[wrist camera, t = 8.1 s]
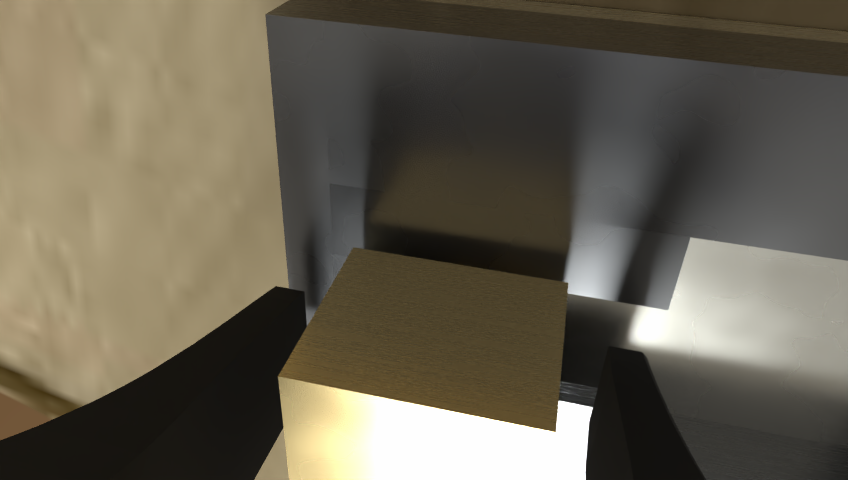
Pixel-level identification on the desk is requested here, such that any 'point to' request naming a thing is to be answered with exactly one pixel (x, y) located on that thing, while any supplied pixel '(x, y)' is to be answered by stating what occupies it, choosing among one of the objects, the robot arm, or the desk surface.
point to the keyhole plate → (596, 195)
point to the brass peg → (425, 374)
